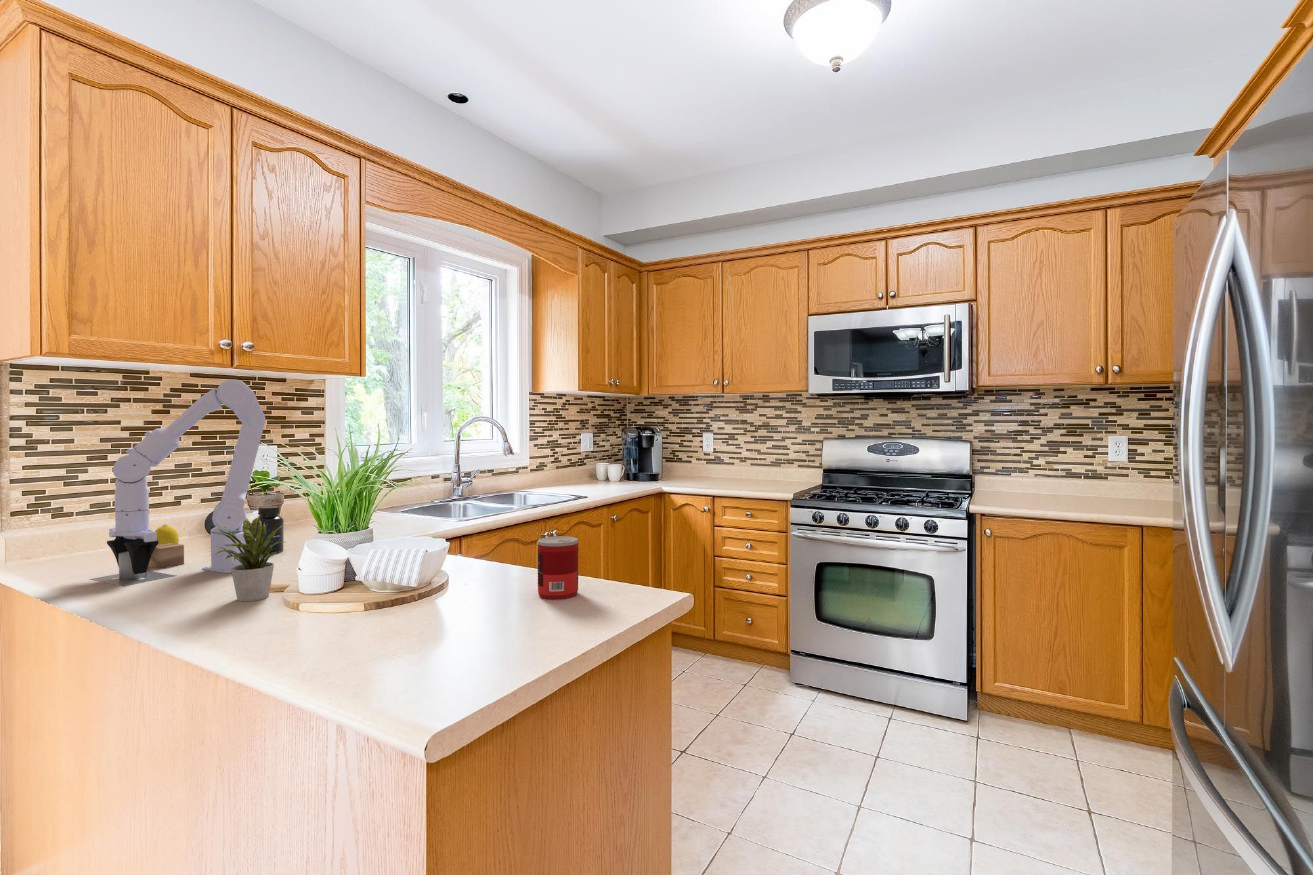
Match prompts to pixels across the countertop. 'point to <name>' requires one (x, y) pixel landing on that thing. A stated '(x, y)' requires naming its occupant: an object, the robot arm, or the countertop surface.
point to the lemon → (167, 535)
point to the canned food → (557, 567)
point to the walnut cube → (167, 556)
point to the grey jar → (127, 568)
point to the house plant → (251, 562)
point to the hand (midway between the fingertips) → (133, 571)
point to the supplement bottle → (272, 527)
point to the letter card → (150, 577)
